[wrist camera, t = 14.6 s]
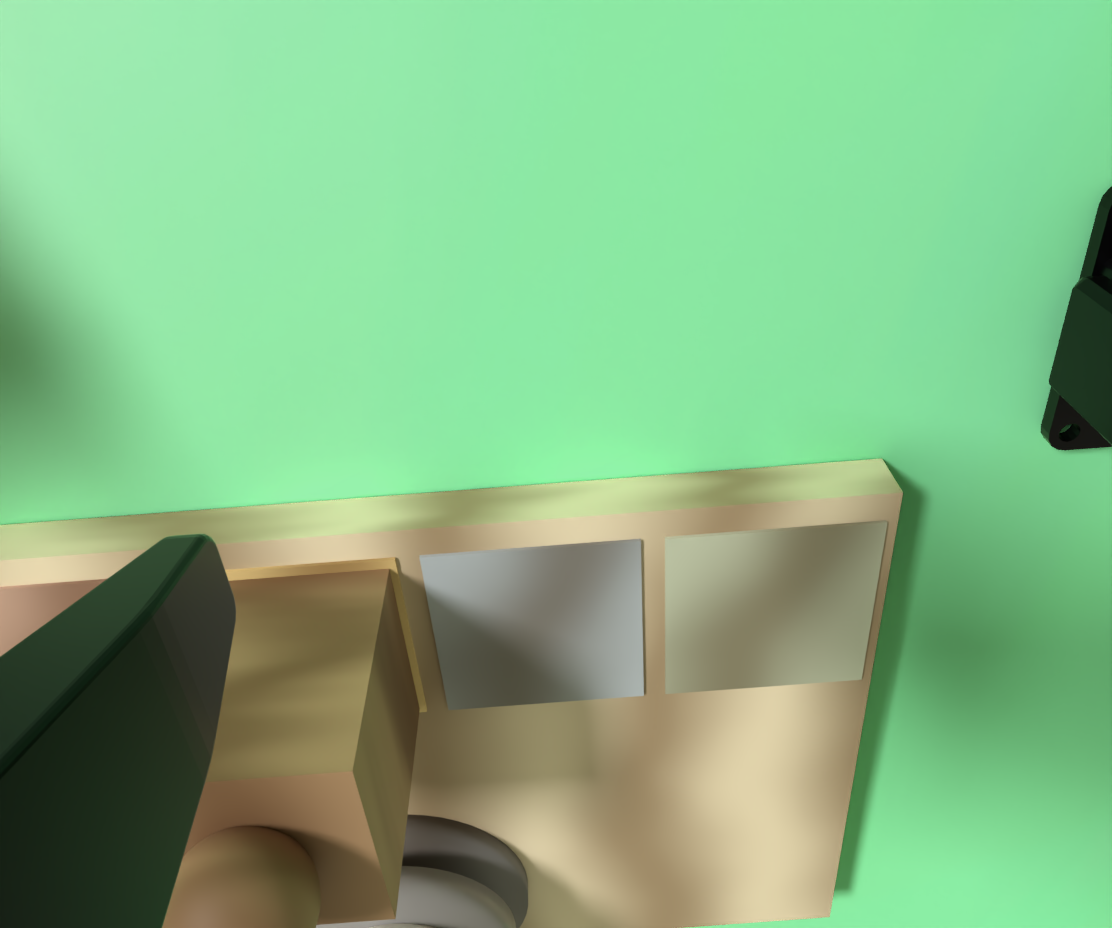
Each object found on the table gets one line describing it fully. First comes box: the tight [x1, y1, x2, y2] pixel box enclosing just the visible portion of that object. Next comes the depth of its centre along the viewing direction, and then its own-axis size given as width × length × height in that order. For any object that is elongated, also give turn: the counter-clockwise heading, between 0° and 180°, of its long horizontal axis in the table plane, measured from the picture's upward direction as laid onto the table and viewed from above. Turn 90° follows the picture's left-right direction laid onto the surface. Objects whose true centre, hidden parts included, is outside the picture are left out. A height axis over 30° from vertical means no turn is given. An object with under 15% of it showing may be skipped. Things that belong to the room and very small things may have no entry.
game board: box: [0, 459, 903, 928], centre depth 26 cm, size 24×18×4 cm
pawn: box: [162, 569, 420, 928], centre depth 20 cm, size 5×5×8 cm
